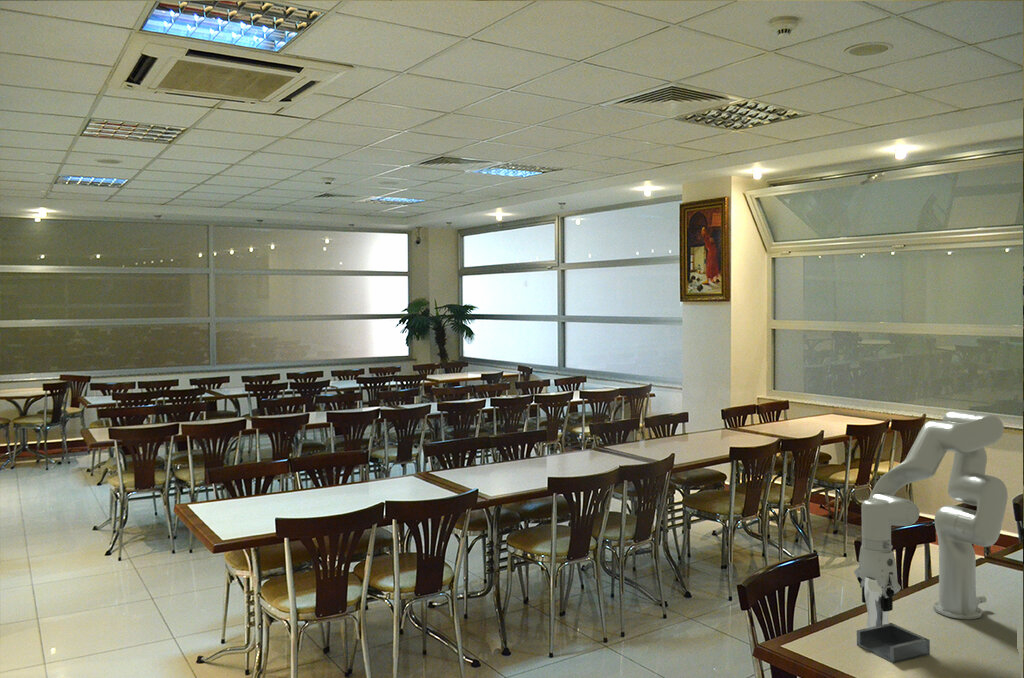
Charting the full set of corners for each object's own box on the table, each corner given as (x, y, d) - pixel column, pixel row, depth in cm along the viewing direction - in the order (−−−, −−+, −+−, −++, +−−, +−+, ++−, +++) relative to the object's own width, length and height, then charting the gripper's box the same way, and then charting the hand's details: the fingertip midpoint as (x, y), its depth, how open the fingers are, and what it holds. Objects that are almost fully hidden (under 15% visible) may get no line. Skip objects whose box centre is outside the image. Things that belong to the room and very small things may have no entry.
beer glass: (894, 634, 219) (894, 581, 219) (867, 633, 221) (867, 580, 220) (887, 624, 226) (887, 573, 226) (862, 623, 227) (861, 572, 227)
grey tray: (891, 637, 218) (891, 622, 217) (929, 654, 206) (929, 639, 206) (856, 644, 213) (856, 630, 213) (893, 663, 202) (893, 648, 201)
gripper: (911, 550, 216) (912, 614, 216) (863, 534, 232) (863, 594, 233) (890, 554, 213) (891, 619, 214) (843, 537, 229) (843, 598, 230)
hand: (877, 605), depth 223 cm, fingers closed on beer glass, 6 cm apart
